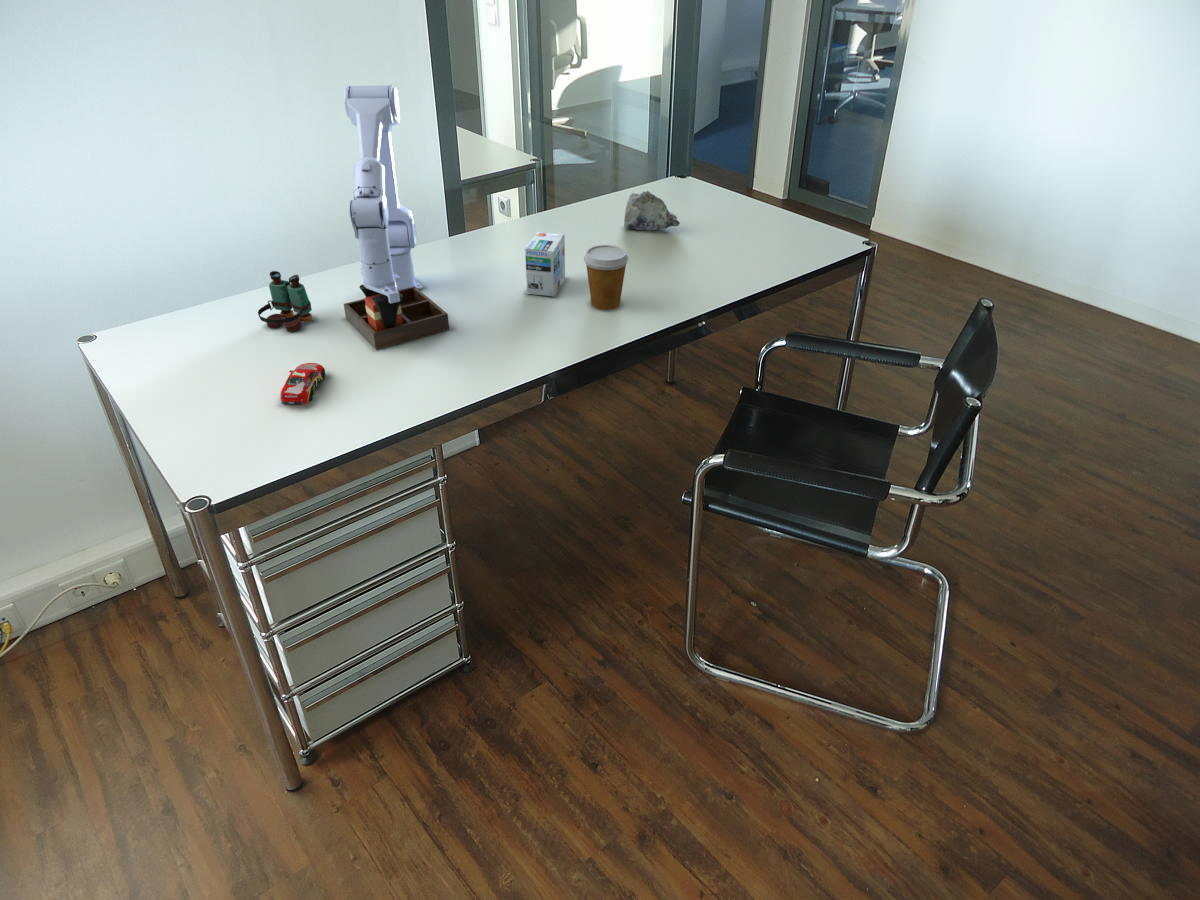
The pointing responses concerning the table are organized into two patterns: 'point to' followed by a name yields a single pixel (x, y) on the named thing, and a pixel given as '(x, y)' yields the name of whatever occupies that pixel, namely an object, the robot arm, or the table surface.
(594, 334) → the table surface
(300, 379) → the race car
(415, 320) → the organiser
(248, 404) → the table surface
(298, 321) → the binoculars
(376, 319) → the red cream striped block
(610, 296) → the disposable coffee cup
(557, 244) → the light bulb box
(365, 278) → the robot arm
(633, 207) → the mineral rock
